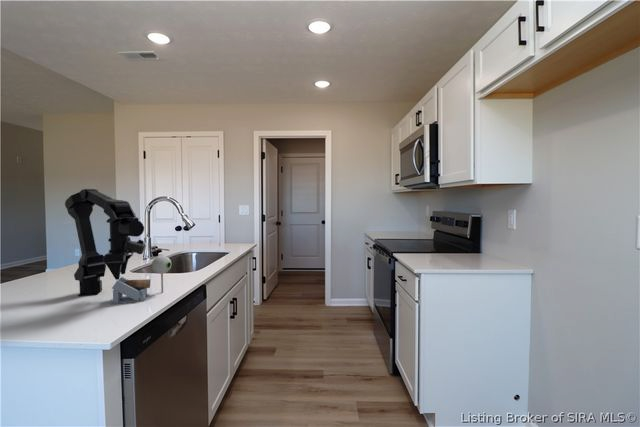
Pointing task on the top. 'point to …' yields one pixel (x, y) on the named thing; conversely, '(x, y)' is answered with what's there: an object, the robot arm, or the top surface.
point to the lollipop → (161, 266)
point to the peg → (138, 283)
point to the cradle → (127, 293)
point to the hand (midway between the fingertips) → (120, 276)
